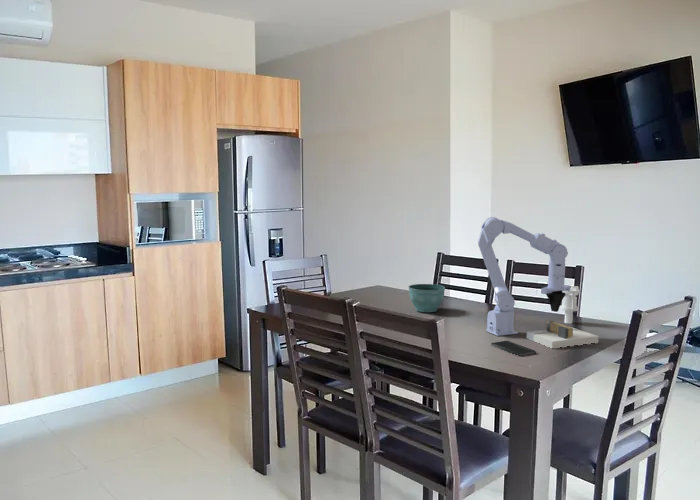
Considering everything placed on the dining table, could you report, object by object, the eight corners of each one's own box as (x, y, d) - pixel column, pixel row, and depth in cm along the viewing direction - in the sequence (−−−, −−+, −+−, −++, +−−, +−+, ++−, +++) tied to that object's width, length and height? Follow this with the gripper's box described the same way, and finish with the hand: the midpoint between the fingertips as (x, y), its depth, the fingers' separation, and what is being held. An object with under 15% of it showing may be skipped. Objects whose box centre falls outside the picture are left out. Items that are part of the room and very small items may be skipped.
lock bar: (544, 329, 212) (545, 320, 212) (551, 328, 213) (551, 320, 212) (567, 337, 201) (567, 328, 200) (573, 336, 202) (573, 328, 201)
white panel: (552, 348, 197) (552, 331, 196) (526, 338, 210) (527, 322, 209) (598, 343, 204) (599, 326, 203) (570, 333, 217) (571, 317, 216)
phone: (519, 354, 188) (489, 343, 201) (519, 357, 188) (489, 346, 201) (537, 351, 191) (507, 340, 205) (537, 354, 191) (507, 343, 205)
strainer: (581, 324, 231) (582, 287, 229) (564, 325, 230) (566, 288, 228) (571, 320, 238) (573, 284, 236) (555, 320, 237) (557, 285, 235)
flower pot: (413, 305, 266) (413, 282, 265) (448, 308, 261) (448, 284, 259) (403, 312, 252) (404, 288, 250) (440, 316, 246) (440, 291, 244)
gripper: (552, 278, 206) (551, 315, 207) (578, 275, 214) (576, 310, 215) (536, 275, 212) (535, 311, 213) (562, 272, 220) (560, 307, 221)
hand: (554, 311), depth 215 cm, fingers closed
